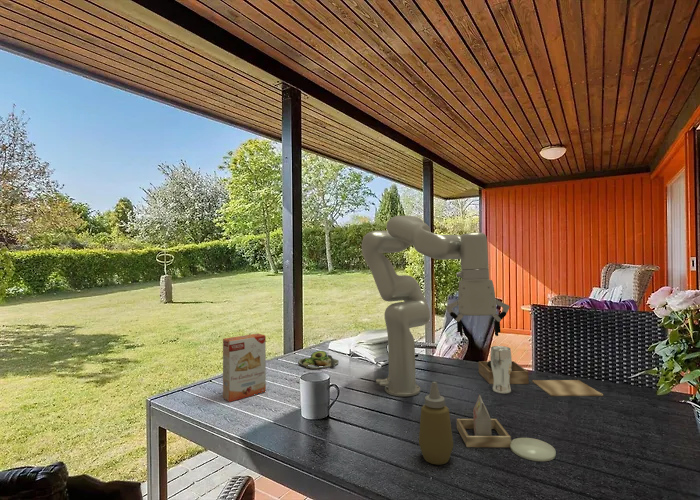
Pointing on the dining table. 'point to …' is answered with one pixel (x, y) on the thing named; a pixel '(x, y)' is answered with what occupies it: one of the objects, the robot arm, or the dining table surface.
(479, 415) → the gable top carton
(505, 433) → the holder
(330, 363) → the salad plate
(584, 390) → the wooden board
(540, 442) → the coaster
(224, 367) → the cracker box
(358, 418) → the dining table surface
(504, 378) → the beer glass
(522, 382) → the display tray
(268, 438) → the dining table surface
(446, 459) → the squeeze bottle
